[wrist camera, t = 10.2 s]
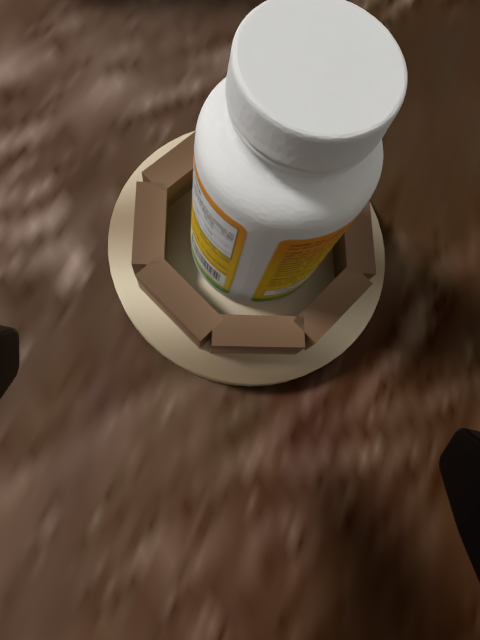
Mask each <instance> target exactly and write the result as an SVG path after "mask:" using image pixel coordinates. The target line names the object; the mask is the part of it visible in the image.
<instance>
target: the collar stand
mask: <svg viewBox="0 0 480 640" xmlns="http://www.w3.org/2000/svg"><path fill="white" fill-rule="evenodd" d="M195 133H196V131H194V132H191V133H188V134H185V135H183V136H181V137H179V138H177V139H175V140H173V141H171V142H169V143H167V144H166V145H164V146H163V147H161V148H160V149H158V150H157V151H155V152H154V153H153V154H152V155H151V156H149V157H148V158H147V159H146V160H145V161H144V162H143V163H142V164H141V165H140V166H139V167H138V168H137V170H136V171H135V172H134V173H133V174H132V175H131V177H130V178H129V180H128V182H127V183H126V185H125V186H124V188H123V189H122V192H121V194H120V196H119V198H118V200H117V202H116V205H115V208H114V211H113V214H112V218H111V222H110V229H109V235H108V257H109V264H110V271H111V275H112V279H113V282H114V285H115V289H116V291H117V294H118V296H119V298H120V300H121V302H122V305H123V307H124V309H125V311H126V313H127V315H128V317H129V318H130V320H131V321H132V323H133V324H134V326H135V328H136V329H137V330H138V331H139V333H140V334H141V335H142V336H143V337H144V339H145V340H146V341H147V342H148V343H149V344H150V345H151V346H152V347H153V348H154V349H155V350H156V351H158V352H159V353H160V354H161V355H162V356H163V357H165V358H166V359H168V360H169V361H171V362H172V363H174V364H175V365H177V366H178V367H180V368H182V369H184V370H186V371H188V372H190V373H192V374H194V375H196V376H199V377H202V378H205V379H208V380H210V381H214V382H219V383H223V384H228V385H236V386H249V387H251V386H268V385H273V384H278V383H284V382H288V381H290V380H293V379H296V378H299V377H302V376H304V375H306V374H308V373H310V372H312V371H314V370H316V369H318V368H320V367H322V366H324V365H326V364H328V363H329V362H331V361H332V360H333V359H335V358H336V357H338V356H339V355H341V354H342V353H343V352H344V351H345V350H346V349H347V348H348V347H349V346H350V345H351V344H352V343H353V342H354V341H355V340H356V339H357V337H358V336H359V335H360V334H361V332H362V331H363V330H364V329H365V327H366V325H367V324H368V322H369V320H370V318H371V317H372V315H373V313H374V310H375V308H376V306H377V303H378V301H379V298H380V294H381V290H382V286H383V281H384V272H385V250H384V244H383V237H382V233H381V229H380V226H379V223H378V219H377V217H376V214H375V212H374V210H373V208H372V205H371V203H370V199H369V201H368V202H367V204H366V205H365V207H364V208H363V209H362V211H361V212H360V213H359V215H358V216H357V217H356V219H355V220H354V221H353V222H352V224H351V225H350V226H349V227H348V229H347V230H346V231H345V232H344V234H343V235H342V236H341V237H340V239H339V240H338V241H337V242H336V244H335V245H334V246H333V247H332V249H331V250H330V251H329V252H328V254H327V255H326V256H325V258H324V259H323V260H322V261H321V263H320V264H319V265H318V266H317V268H316V269H315V271H314V272H313V273H312V274H311V276H310V277H309V278H308V279H307V280H306V282H305V283H304V284H303V285H302V286H301V287H300V288H299V289H297V290H296V291H295V292H294V293H292V294H291V295H289V296H287V297H285V298H283V299H280V300H278V301H274V302H270V303H264V304H249V303H243V302H239V301H236V300H233V299H230V298H228V297H226V296H224V295H222V294H221V293H219V292H218V291H216V290H215V289H214V288H213V287H212V286H211V285H210V284H209V283H208V282H207V281H206V280H205V279H204V278H203V276H202V275H201V273H200V272H199V270H198V268H197V266H196V264H195V261H194V258H193V254H192V249H191V239H190V238H191V210H192V188H193V159H194V142H195Z"/></svg>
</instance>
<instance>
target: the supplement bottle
mask: <svg viewBox="0 0 480 640" xmlns="http://www.w3.org/2000/svg"><path fill="white" fill-rule="evenodd" d="M406 88H407V68H406V63H405V60H404V57H403V55H402V52H401V50H400V48H399V46H398V44H397V42H396V41H395V39H394V38H393V36H392V35H391V33H390V32H389V31H388V30H387V29H386V28H385V26H384V25H383V24H381V23H380V22H379V21H378V20H377V19H376V18H375V17H374V16H372V15H371V14H369V13H368V12H367V11H365V10H364V9H362V8H360V7H358V6H357V5H355V4H353V3H351V2H348V1H346V0H267V1H265V2H263V3H262V4H260V5H259V6H257V7H256V8H254V9H253V10H252V11H251V12H250V13H249V14H248V15H247V16H246V17H245V18H244V20H243V21H242V22H241V24H240V26H239V27H238V29H237V31H236V34H235V36H234V39H233V43H232V48H231V55H230V60H229V66H228V72H227V76H226V77H225V78H224V79H223V80H222V81H221V82H220V83H219V84H218V85H217V86H216V87H215V88H214V89H213V91H212V92H211V93H210V95H209V96H208V98H207V99H206V101H205V103H204V105H203V107H202V109H201V112H200V115H199V118H198V121H197V126H196V133H195V142H194V159H193V188H192V210H191V238H190V239H191V249H192V254H193V258H194V261H195V264H196V266H197V268H198V270H199V272H200V273H201V275H202V276H203V278H204V279H205V280H206V281H207V282H208V283H209V284H210V285H211V286H212V287H213V288H214V289H215V290H216V291H218V292H219V293H221V294H222V295H224V296H226V297H228V298H230V299H233V300H236V301H239V302H243V303H249V304H264V303H270V302H274V301H278V300H280V299H283V298H285V297H287V296H289V295H291V294H292V293H294V292H295V291H296V290H297V289H299V288H300V287H301V286H302V285H303V284H304V283H305V282H306V280H307V279H308V278H309V277H310V276H311V274H312V273H313V272H314V271H315V269H316V268H317V266H318V265H319V264H320V263H321V261H322V260H323V259H324V258H325V256H326V255H327V254H328V252H329V251H330V250H331V249H332V247H333V246H334V245H335V244H336V242H337V241H338V240H339V239H340V237H341V236H342V235H343V234H344V232H345V231H346V230H347V229H348V227H349V226H350V225H351V224H352V222H353V221H354V220H355V219H356V217H357V216H358V215H359V213H360V212H361V211H362V209H363V208H364V207H365V205H366V204H367V202H368V201H369V199H370V198H371V196H372V194H373V192H374V190H375V189H376V186H377V184H378V181H379V178H380V175H381V171H382V165H383V145H382V137H383V136H384V134H385V133H386V131H387V129H388V128H389V126H390V124H391V123H392V121H393V119H394V118H395V116H396V115H397V113H398V111H399V109H400V108H401V105H402V103H403V100H404V97H405V94H406Z"/></svg>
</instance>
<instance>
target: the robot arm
mask: <svg viewBox="0 0 480 640" xmlns="http://www.w3.org/2000/svg"><path fill="white" fill-rule="evenodd" d="M18 369H19V334H18V331H17V330H16V329H14V328H11V327H7V326H2V325H0V399H1V397H2V396H3V394H4V393H5V392H6V390H7V389H8V387H9V386H10V384H11V383H12V381H13V380H14V378H15V377H16V375H17V372H18ZM439 468H440V472H441V475H442V479H443V482H444V486H445V489H446V492H447V496H448V499H449V502H450V506H451V509H452V512H453V516H454V519H455V522H456V525H457V528H458V531H459V534H460V536H461V539H462V542H463V544H464V546H465V549H466V551H467V554H468V556H469V559H470V561H471V563H472V566H473V568H474V571H475V573H476V575H477V578H478V580H479V583H480V432H479V431H475V430H471V429H466V428H461V429H458V430H457V431H456V432H455V434H454V435H453V437H452V438H451V440H450V442H449V443H448V445H447V446H446V448H445V450H444V451H443V453H442V455H441V457H440V461H439Z"/></svg>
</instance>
